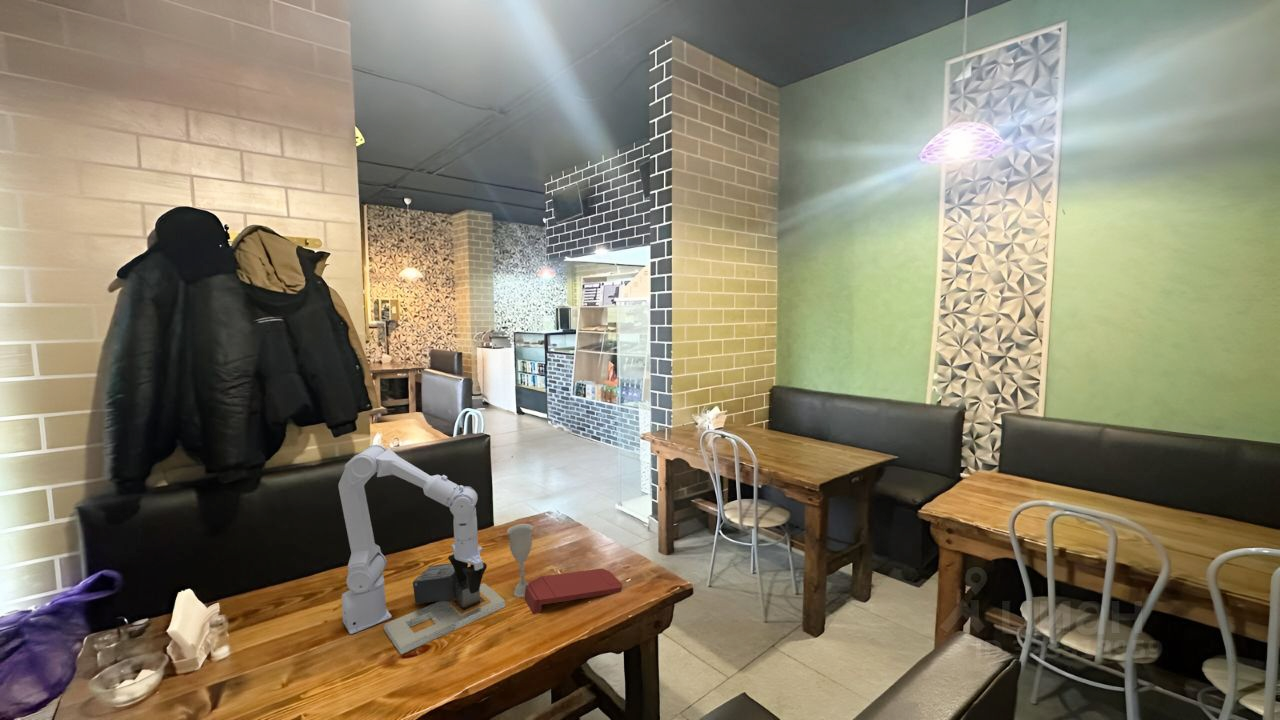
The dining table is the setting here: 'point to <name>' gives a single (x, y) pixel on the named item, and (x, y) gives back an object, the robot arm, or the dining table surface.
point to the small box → (435, 584)
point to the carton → (569, 587)
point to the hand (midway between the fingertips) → (468, 586)
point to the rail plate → (440, 620)
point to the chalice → (520, 551)
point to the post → (466, 596)
